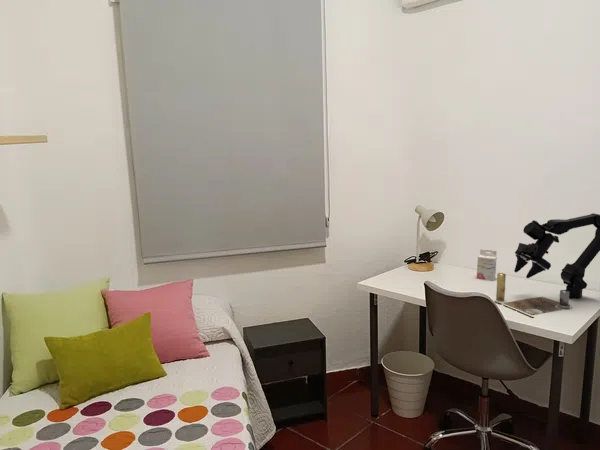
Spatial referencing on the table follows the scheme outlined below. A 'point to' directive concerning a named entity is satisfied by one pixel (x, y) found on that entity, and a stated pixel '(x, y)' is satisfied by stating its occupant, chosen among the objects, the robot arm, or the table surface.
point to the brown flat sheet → (531, 310)
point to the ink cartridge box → (486, 265)
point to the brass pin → (500, 287)
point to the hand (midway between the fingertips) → (520, 274)
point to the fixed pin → (564, 300)
